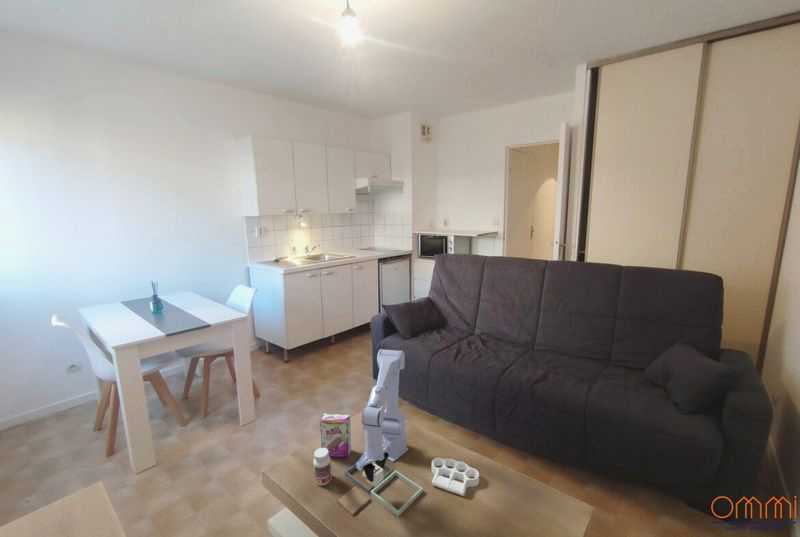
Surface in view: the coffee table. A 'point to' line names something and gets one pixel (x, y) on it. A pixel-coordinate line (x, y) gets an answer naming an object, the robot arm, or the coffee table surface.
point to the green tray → (386, 504)
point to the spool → (365, 473)
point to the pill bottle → (322, 466)
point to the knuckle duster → (453, 475)
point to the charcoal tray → (390, 471)
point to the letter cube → (377, 475)
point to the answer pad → (353, 500)
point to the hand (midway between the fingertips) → (374, 476)
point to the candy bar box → (336, 434)
